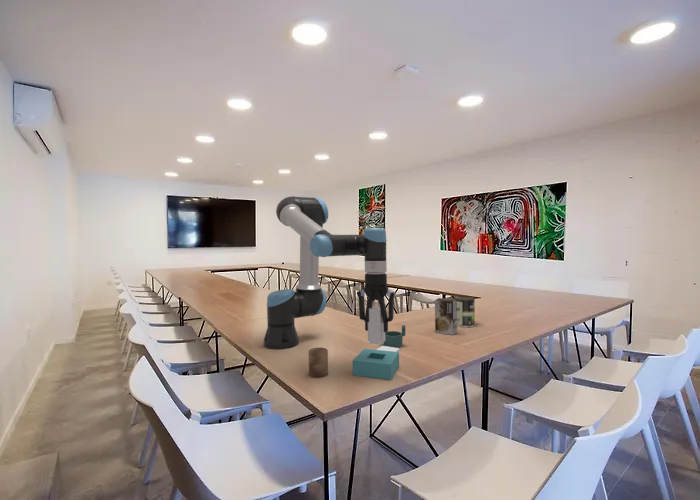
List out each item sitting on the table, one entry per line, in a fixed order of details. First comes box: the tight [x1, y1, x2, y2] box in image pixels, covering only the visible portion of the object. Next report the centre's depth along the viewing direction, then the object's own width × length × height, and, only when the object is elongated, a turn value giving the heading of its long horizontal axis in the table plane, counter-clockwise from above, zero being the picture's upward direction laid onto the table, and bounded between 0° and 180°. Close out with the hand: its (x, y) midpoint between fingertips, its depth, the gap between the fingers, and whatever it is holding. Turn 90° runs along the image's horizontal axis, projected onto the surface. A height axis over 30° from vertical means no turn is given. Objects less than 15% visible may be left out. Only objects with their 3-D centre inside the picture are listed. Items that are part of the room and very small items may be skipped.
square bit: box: [368, 305, 383, 345], centre depth 119 cm, size 4×4×12 cm
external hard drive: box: [375, 345, 401, 353], centre depth 137 cm, size 2×8×12 cm
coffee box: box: [434, 297, 458, 336], centre depth 166 cm, size 9×6×16 cm
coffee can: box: [453, 296, 476, 328], centre depth 181 cm, size 10×10×14 cm
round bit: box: [308, 347, 329, 379], centre depth 117 cm, size 6×6×8 cm
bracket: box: [382, 324, 406, 349], centre depth 148 cm, size 9×9×9 cm
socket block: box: [352, 348, 400, 381], centre depth 119 cm, size 13×13×5 cm
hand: (376, 340), depth 119 cm, fingers closed on square bit, 4 cm apart
